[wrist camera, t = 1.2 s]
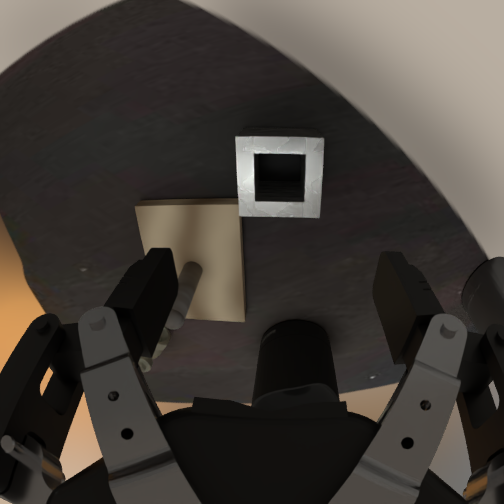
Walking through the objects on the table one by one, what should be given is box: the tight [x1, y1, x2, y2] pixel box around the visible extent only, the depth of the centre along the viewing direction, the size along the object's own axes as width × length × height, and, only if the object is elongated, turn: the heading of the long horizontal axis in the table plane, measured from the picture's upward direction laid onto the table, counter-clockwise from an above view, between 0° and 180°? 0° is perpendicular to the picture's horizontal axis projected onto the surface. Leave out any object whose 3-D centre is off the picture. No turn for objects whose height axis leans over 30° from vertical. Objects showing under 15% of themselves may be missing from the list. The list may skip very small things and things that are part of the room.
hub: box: [236, 127, 324, 218], centre depth 22 cm, size 6×6×5 cm
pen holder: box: [251, 320, 340, 411], centre depth 32 cm, size 9×9×10 cm
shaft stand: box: [135, 198, 246, 329], centre depth 27 cm, size 10×14×10 cm
